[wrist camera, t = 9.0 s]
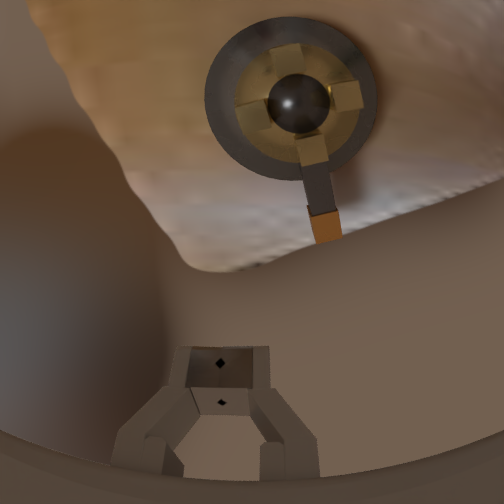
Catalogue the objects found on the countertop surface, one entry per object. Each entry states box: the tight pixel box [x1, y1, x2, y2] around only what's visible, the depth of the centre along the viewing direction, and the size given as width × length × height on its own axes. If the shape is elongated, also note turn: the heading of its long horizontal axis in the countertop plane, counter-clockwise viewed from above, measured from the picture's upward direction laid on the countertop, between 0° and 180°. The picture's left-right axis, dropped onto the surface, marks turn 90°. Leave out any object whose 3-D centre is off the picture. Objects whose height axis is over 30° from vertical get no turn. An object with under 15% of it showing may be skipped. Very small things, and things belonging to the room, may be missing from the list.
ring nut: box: [234, 43, 364, 244], centre depth 23 cm, size 16×9×4 cm, turn 16°
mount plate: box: [204, 17, 377, 181], centre depth 24 cm, size 14×14×3 cm
